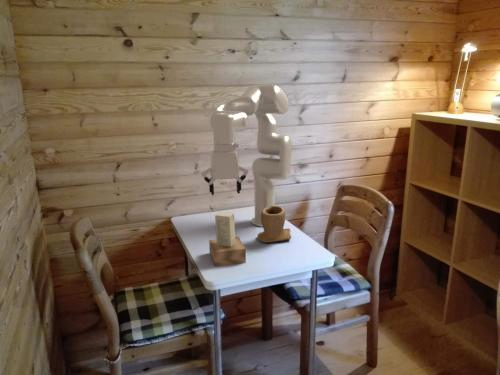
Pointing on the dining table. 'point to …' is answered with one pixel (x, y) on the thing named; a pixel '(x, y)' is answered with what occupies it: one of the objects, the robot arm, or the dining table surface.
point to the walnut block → (227, 253)
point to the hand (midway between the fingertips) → (225, 193)
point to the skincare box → (225, 229)
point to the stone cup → (273, 225)
